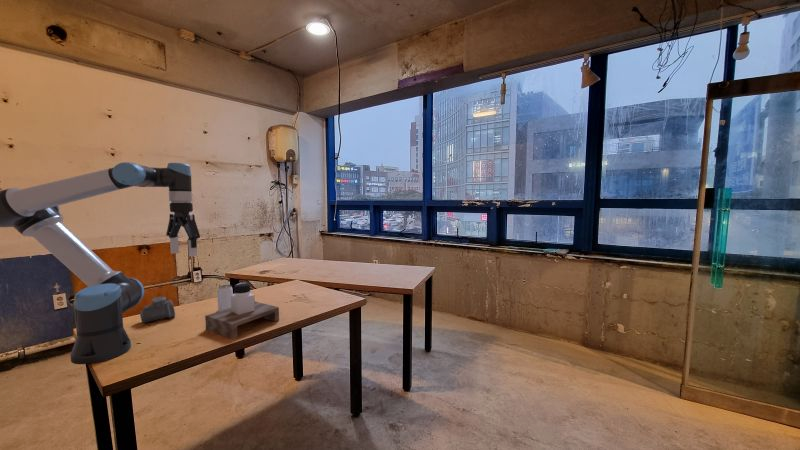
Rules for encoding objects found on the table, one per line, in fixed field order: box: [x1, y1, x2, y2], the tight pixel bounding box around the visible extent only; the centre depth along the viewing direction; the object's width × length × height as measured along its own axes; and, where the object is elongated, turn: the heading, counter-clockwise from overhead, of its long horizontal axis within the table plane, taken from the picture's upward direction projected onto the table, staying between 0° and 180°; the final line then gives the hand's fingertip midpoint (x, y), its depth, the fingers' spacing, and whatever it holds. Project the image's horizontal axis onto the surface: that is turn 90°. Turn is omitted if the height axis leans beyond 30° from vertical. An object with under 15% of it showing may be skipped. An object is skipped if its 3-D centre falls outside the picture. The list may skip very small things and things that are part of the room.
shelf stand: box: [204, 301, 280, 340], centre depth 133 cm, size 18×22×6 cm
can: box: [216, 284, 234, 312], centre depth 151 cm, size 6×6×12 cm
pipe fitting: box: [139, 296, 176, 324], centre depth 138 cm, size 12×8×10 cm, turn 133°
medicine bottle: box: [231, 282, 256, 315], centre depth 133 cm, size 7×7×12 cm
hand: (183, 254), depth 125 cm, fingers open, 13 cm apart
